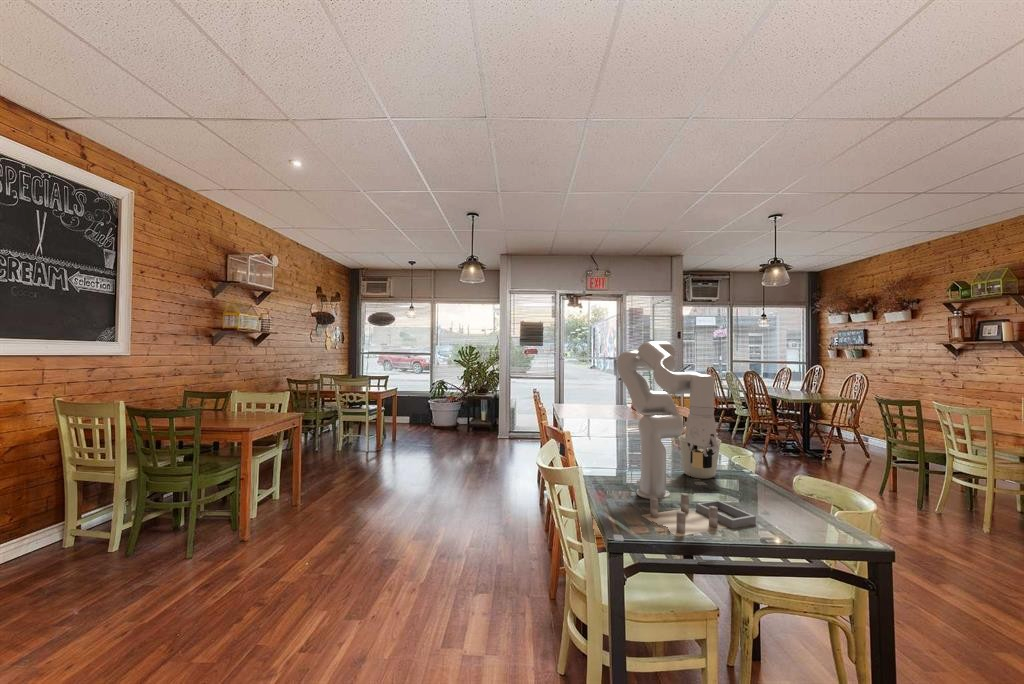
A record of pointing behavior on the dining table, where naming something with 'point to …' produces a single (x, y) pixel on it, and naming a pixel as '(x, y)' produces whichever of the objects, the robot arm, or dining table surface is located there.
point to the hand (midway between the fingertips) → (700, 464)
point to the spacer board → (689, 522)
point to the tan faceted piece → (697, 458)
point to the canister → (688, 466)
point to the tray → (742, 516)
